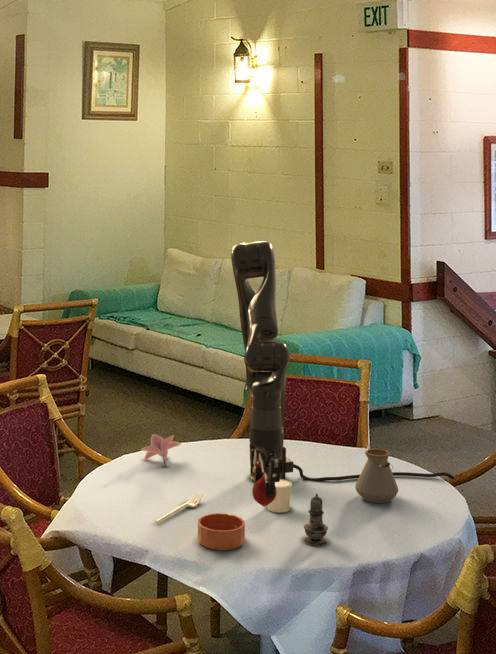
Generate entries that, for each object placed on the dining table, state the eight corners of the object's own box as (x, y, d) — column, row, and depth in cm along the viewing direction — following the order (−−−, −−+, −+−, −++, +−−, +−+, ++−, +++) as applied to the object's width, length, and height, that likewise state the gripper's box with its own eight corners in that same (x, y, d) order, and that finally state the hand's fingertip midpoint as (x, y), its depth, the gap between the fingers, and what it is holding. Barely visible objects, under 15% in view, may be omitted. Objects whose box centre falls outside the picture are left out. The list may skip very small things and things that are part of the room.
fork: (150, 522, 244) (151, 515, 243) (194, 499, 260) (194, 492, 260) (161, 525, 242) (161, 518, 241) (204, 502, 258) (204, 495, 258)
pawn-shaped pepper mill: (309, 534, 237) (311, 487, 235) (331, 540, 233) (333, 492, 232) (298, 542, 232) (300, 494, 230) (321, 548, 229) (322, 499, 227)
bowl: (234, 530, 239) (234, 511, 238) (251, 548, 228) (252, 528, 228) (191, 535, 236) (191, 515, 235) (207, 554, 225) (207, 533, 224)
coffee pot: (351, 490, 267) (353, 437, 265) (393, 491, 267) (395, 438, 265) (364, 519, 246) (366, 463, 244) (409, 520, 246) (412, 464, 244)
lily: (187, 463, 292) (179, 432, 295) (181, 460, 281) (172, 428, 284) (149, 474, 293) (141, 443, 296) (142, 471, 282) (134, 439, 285)
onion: (275, 511, 229) (275, 479, 228) (250, 510, 230) (251, 477, 229) (277, 502, 234) (277, 471, 233) (253, 501, 235) (254, 469, 234)
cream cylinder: (274, 515, 249) (275, 489, 248) (260, 506, 255) (260, 480, 254) (296, 510, 252) (297, 485, 251) (281, 502, 258) (282, 477, 257)
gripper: (292, 431, 224) (291, 501, 226) (268, 414, 237) (266, 480, 240) (262, 434, 221) (261, 504, 224) (239, 417, 235) (238, 483, 237)
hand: (264, 491), depth 232 cm, fingers closed on onion, 6 cm apart
